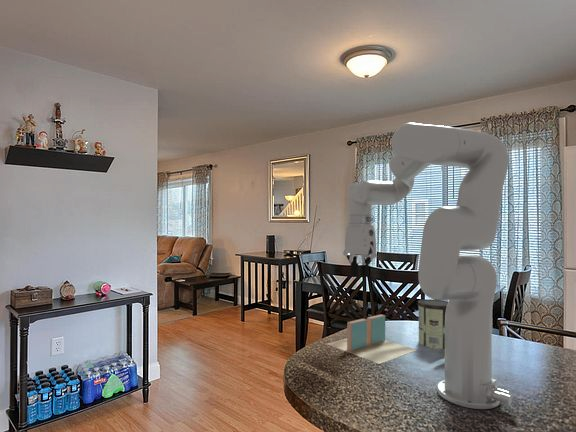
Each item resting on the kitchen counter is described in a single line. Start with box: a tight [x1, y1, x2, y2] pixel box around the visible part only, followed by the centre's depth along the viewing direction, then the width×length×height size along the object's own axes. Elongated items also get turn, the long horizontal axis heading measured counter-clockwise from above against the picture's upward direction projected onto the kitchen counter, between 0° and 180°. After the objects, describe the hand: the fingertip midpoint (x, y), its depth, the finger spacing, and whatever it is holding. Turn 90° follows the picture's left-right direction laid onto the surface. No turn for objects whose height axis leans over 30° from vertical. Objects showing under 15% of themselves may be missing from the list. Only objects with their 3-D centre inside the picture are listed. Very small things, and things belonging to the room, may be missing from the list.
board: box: [326, 338, 417, 365], centre depth 111 cm, size 20×18×1 cm
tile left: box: [346, 318, 367, 351], centre depth 111 cm, size 2×7×8 cm, turn 128°
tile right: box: [366, 314, 386, 345], centre depth 116 cm, size 2×7×8 cm, turn 128°
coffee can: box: [417, 298, 449, 350], centre depth 116 cm, size 10×10×14 cm
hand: (359, 275), depth 122 cm, fingers open, 3 cm apart
